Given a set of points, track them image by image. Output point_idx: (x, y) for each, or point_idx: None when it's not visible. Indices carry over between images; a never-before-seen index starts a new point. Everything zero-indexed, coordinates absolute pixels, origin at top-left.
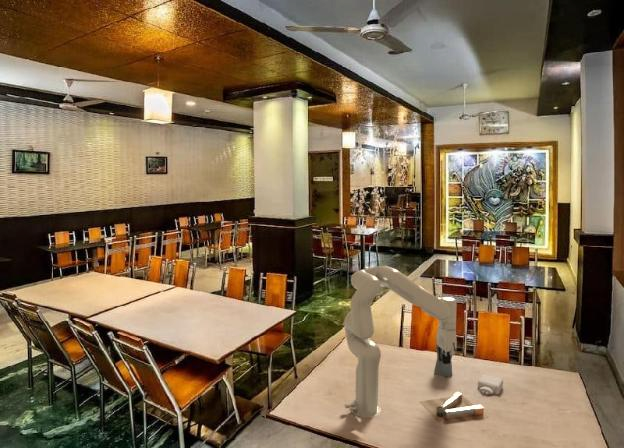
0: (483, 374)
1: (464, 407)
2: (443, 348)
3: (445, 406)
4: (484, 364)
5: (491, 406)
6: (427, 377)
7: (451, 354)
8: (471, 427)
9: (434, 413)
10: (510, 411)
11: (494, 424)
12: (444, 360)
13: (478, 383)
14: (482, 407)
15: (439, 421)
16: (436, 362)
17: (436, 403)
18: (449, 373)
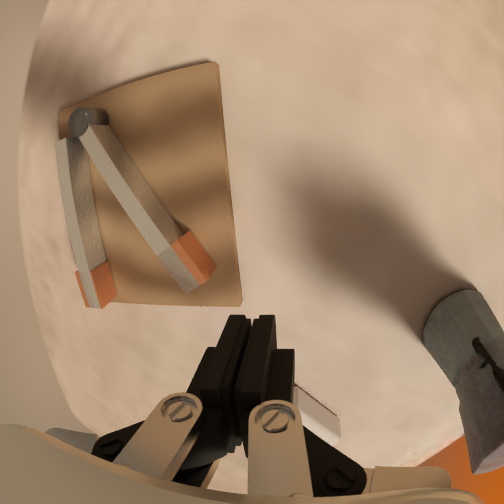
0: (338, 440)
1: (79, 235)
2: (56, 479)
3: (89, 152)
4: (423, 447)
5: (174, 356)
6: (459, 237)
7: (55, 434)
8: (61, 217)
9: (113, 104)
10: (148, 381)
11: (80, 297)
12: (220, 343)
13: (294, 403)
14: (86, 303)
15: (70, 110)
16: (495, 324)
17: (183, 140)
18: (429, 344)
